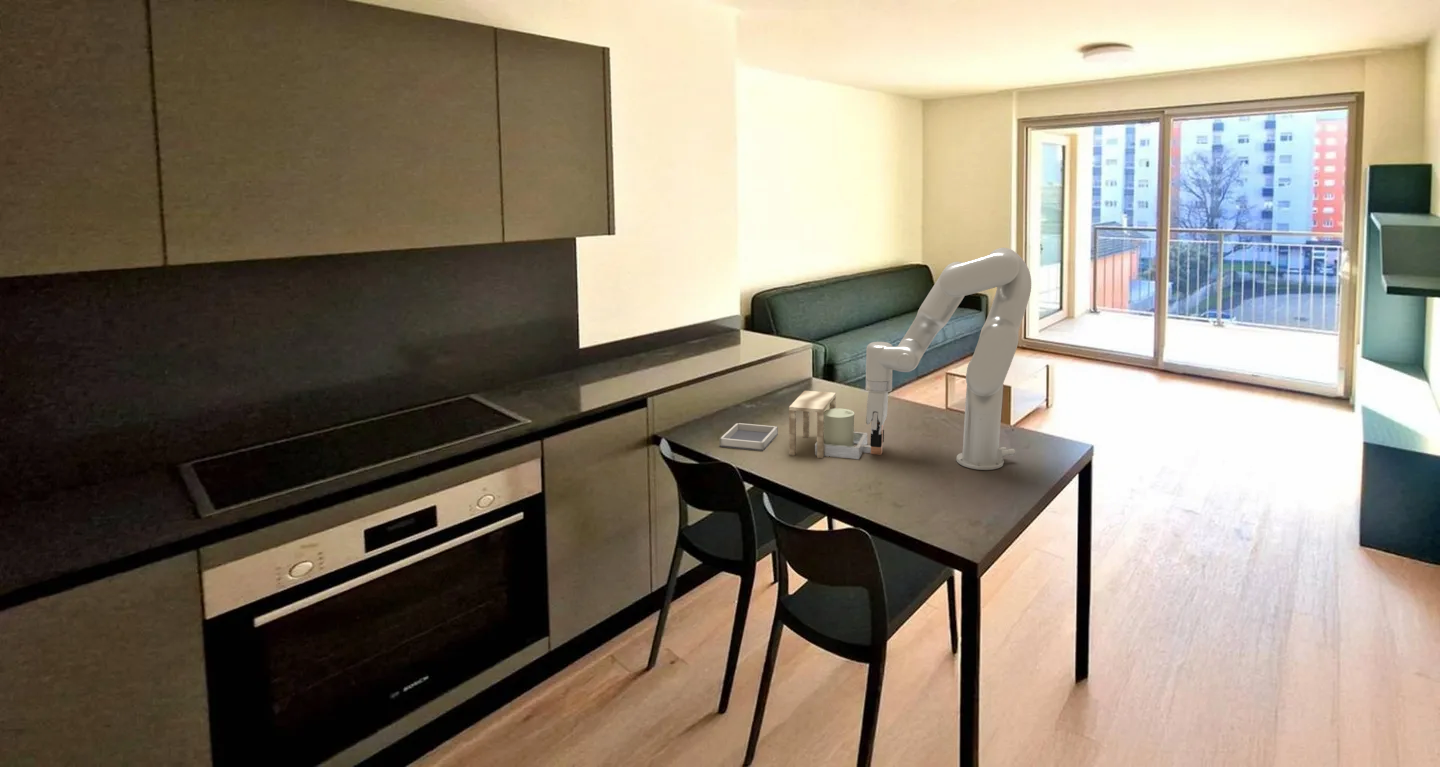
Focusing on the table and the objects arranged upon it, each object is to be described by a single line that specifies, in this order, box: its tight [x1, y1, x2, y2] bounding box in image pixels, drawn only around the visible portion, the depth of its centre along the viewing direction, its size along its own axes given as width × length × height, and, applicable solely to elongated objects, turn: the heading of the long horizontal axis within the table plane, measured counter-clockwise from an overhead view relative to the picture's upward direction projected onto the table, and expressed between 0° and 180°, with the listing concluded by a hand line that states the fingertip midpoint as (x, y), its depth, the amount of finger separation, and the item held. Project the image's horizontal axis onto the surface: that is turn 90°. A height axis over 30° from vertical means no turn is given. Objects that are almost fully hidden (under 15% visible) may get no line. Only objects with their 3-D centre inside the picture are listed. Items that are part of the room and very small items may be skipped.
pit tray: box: [719, 422, 779, 452], centre depth 234 cm, size 14×16×3 cm
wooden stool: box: [788, 390, 837, 459], centre depth 225 cm, size 10×18×15 cm, turn 159°
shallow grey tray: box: [814, 421, 884, 460], centre depth 222 cm, size 18×14×10 cm
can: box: [824, 407, 855, 446], centre depth 223 cm, size 9×9×12 cm
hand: (877, 443), depth 219 cm, fingers closed on shallow grey tray, 3 cm apart
